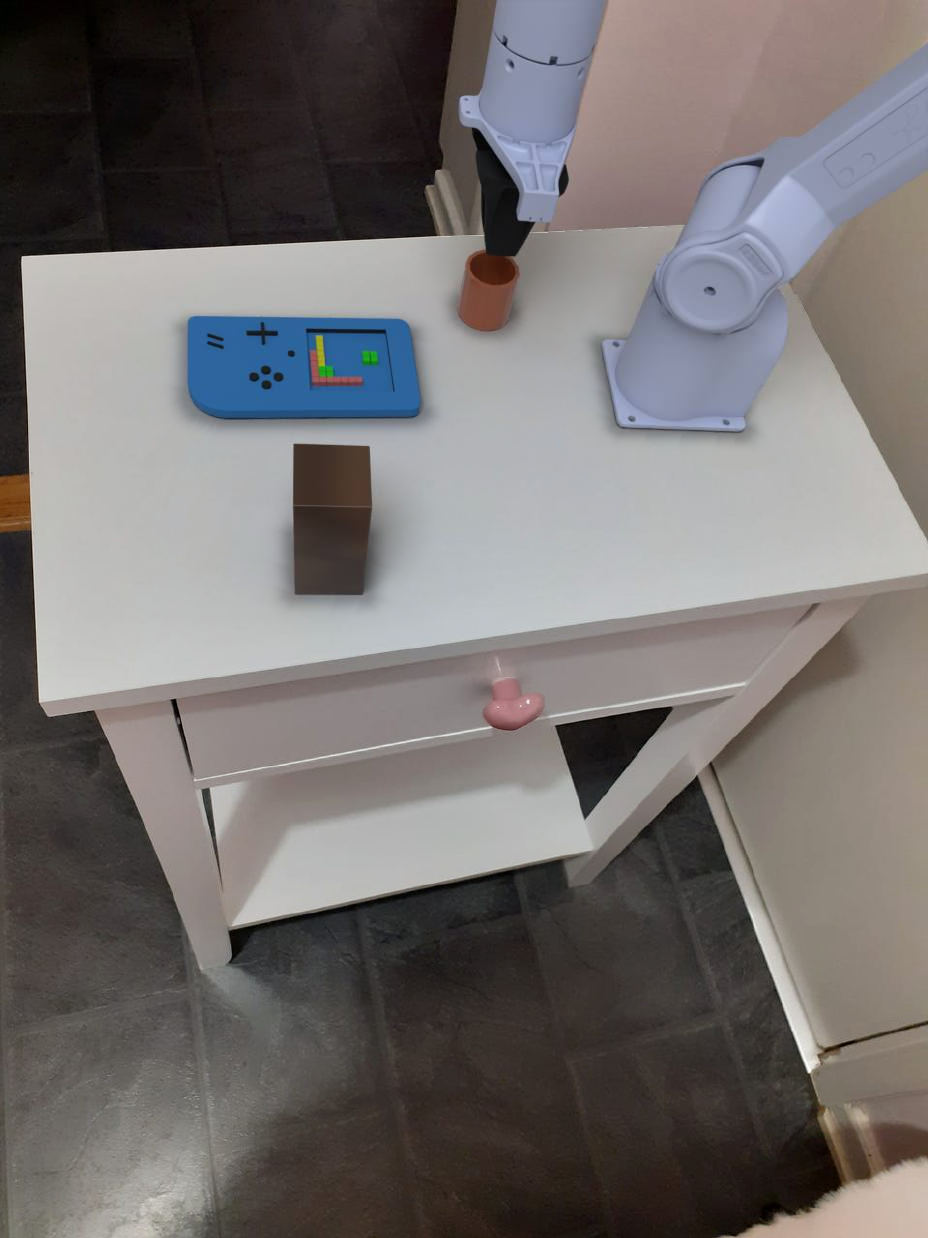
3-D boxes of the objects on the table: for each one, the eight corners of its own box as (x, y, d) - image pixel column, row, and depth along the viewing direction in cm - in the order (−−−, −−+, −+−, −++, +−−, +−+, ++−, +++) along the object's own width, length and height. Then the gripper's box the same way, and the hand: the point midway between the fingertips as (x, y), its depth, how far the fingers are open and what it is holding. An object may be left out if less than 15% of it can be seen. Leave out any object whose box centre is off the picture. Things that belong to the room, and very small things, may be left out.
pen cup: (505, 295, 69) (516, 251, 66) (511, 332, 67) (522, 289, 64) (455, 292, 68) (463, 247, 65) (459, 329, 67) (468, 286, 63)
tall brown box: (361, 538, 57) (369, 445, 49) (362, 595, 55) (372, 507, 47) (294, 537, 56) (293, 442, 48) (294, 594, 54) (292, 505, 46)
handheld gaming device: (187, 311, 62) (409, 314, 65) (188, 324, 63) (407, 326, 66) (186, 407, 58) (422, 405, 61) (188, 418, 59) (420, 417, 62)
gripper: (461, -47, 53) (433, 166, 65) (484, 110, 46) (448, 315, 58) (579, -32, 54) (530, 174, 66) (618, 122, 48) (556, 321, 59)
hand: (499, 240), depth 62 cm, fingers closed
